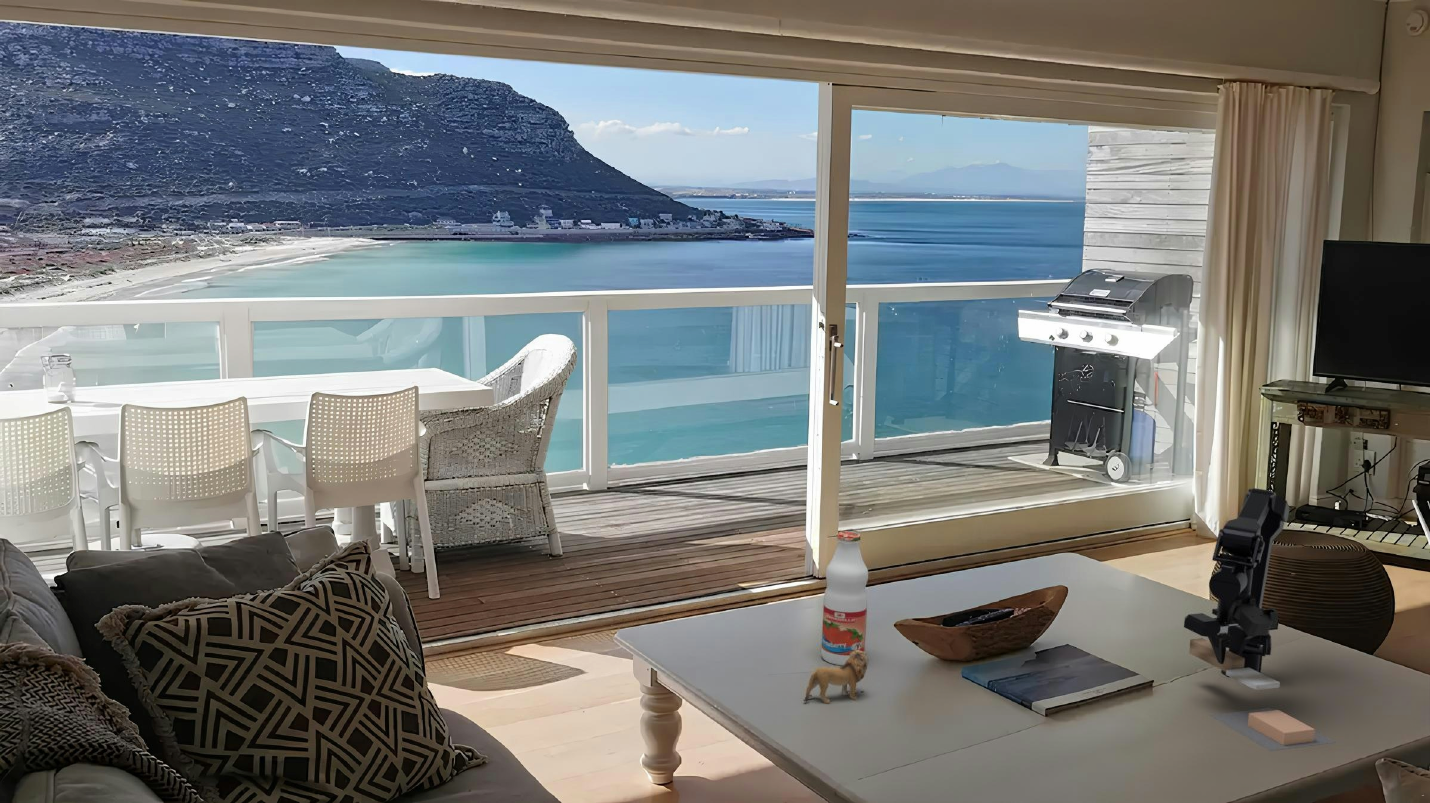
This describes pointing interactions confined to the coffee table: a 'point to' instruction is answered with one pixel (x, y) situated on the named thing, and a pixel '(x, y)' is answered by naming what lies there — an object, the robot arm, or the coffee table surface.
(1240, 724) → the mat
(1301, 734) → the tile
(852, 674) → the lion figurine
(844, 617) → the fruit juice
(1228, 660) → the spatula
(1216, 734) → the coffee table surface
